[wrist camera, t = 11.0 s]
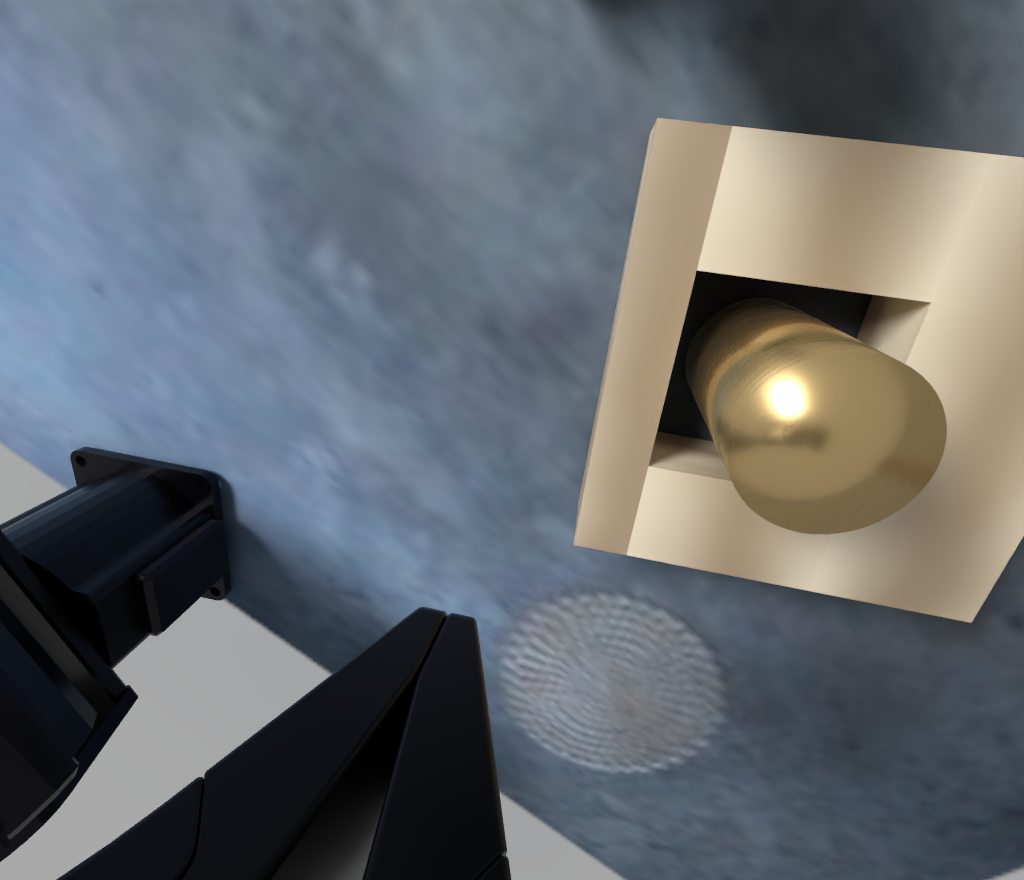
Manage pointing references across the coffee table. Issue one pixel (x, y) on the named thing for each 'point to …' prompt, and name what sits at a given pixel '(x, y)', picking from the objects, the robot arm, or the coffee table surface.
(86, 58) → the coffee table surface
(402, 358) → the coffee table surface
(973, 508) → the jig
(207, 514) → the robot arm
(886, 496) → the brass cylinder plug
